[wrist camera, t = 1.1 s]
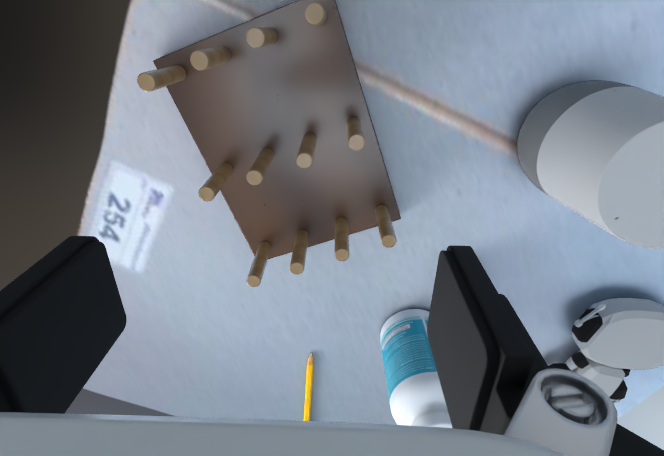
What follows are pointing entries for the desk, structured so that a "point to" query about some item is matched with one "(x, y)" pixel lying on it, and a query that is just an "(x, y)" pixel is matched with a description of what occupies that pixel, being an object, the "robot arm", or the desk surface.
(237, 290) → the desk surface
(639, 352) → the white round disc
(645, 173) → the smart speaker
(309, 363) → the pencil
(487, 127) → the desk surface
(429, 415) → the pill bottle
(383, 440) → the robot arm
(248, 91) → the plate rack
